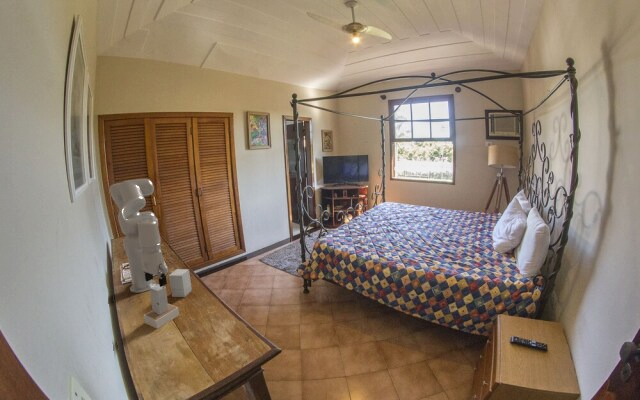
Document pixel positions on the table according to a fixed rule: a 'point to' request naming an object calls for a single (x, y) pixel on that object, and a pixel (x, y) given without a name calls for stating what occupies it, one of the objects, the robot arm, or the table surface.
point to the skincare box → (159, 299)
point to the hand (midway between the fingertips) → (156, 282)
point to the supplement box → (180, 282)
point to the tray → (161, 317)
